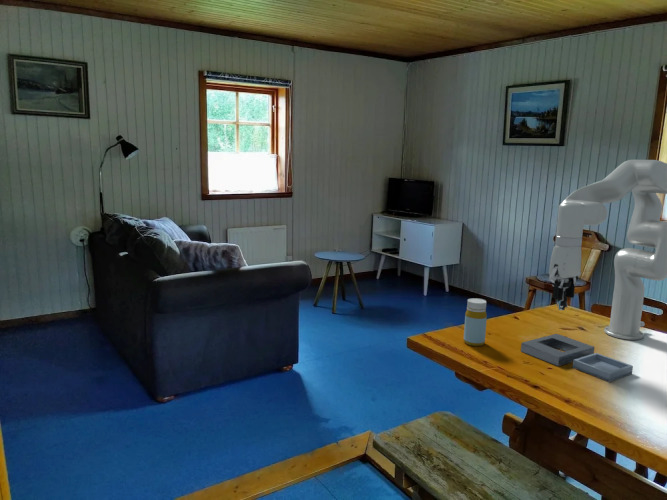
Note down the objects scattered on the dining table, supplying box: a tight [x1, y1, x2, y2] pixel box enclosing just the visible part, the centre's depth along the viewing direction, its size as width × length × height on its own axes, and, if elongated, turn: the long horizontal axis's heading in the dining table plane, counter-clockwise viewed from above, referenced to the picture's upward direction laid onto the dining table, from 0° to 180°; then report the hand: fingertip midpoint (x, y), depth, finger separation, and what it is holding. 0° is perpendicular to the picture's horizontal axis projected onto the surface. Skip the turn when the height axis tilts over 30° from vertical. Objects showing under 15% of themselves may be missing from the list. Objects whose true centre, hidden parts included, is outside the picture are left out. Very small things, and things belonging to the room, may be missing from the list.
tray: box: [572, 352, 634, 383], centre depth 156 cm, size 12×12×2 cm
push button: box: [556, 278, 572, 311], centre depth 166 cm, size 7×5×10 cm
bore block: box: [520, 333, 595, 367], centre depth 169 cm, size 18×14×3 cm
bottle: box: [463, 297, 488, 347], centre depth 176 cm, size 7×7×15 cm
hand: (563, 297), depth 166 cm, fingers closed on push button, 5 cm apart
